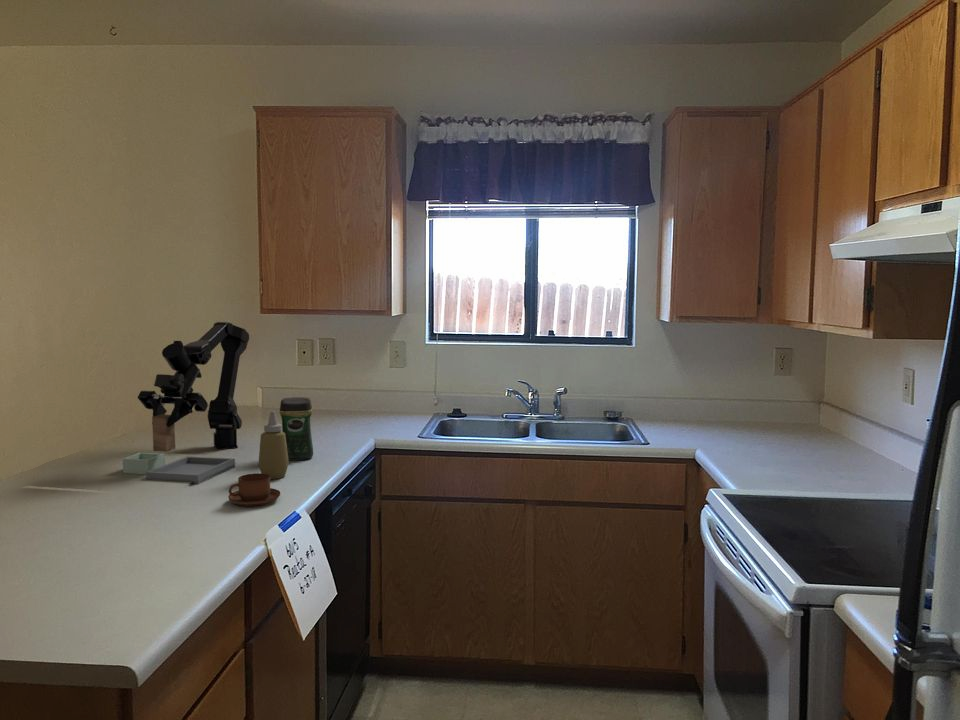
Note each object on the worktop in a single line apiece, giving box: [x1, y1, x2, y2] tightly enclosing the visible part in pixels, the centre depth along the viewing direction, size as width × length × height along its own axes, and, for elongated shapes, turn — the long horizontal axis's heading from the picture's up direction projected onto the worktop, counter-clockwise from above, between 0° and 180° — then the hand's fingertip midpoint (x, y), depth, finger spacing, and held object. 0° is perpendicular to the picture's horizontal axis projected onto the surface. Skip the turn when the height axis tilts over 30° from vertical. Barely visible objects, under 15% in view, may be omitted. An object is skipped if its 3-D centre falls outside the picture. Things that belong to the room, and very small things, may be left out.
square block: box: [151, 413, 176, 453], centre depth 199 cm, size 4×4×10 cm
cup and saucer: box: [228, 472, 281, 507], centre depth 174 cm, size 12×12×6 cm
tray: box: [145, 455, 236, 485], centre depth 199 cm, size 19×15×2 cm
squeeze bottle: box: [257, 410, 290, 480], centre depth 196 cm, size 8×8×18 cm
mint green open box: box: [122, 452, 166, 475], centre depth 200 cm, size 8×8×4 cm
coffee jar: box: [279, 396, 314, 461], centre depth 218 cm, size 10×8×19 cm
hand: (160, 425), depth 197 cm, fingers closed on square block, 4 cm apart
